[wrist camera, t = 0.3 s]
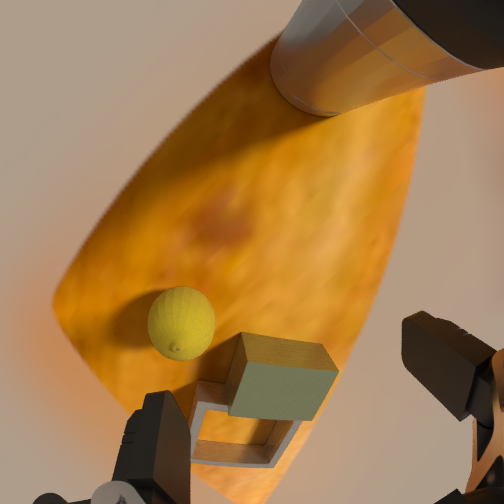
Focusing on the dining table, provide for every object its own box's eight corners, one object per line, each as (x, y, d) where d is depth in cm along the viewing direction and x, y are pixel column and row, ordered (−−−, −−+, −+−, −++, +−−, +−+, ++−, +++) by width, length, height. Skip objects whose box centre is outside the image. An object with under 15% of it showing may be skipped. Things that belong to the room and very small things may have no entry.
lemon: (165, 331, 27) (153, 383, 20) (149, 279, 26) (127, 321, 18) (220, 321, 28) (224, 373, 20) (207, 268, 26) (207, 307, 18)
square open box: (211, 326, 28) (212, 355, 23) (321, 344, 30) (339, 371, 25) (183, 441, 32) (182, 470, 27) (268, 449, 34) (275, 476, 30)
